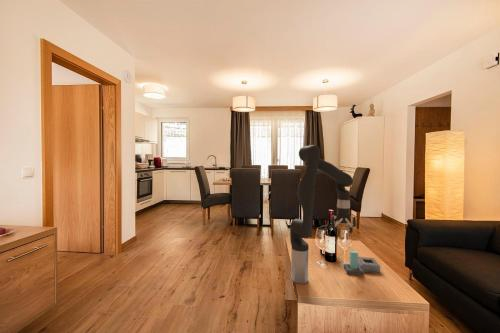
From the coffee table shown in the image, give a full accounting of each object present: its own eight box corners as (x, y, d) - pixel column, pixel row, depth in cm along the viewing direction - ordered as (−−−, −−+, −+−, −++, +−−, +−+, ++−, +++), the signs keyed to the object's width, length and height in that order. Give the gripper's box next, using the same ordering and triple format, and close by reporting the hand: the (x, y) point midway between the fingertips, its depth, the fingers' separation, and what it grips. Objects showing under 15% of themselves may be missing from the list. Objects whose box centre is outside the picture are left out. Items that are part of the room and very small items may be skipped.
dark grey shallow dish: (363, 275, 138) (363, 271, 138) (347, 274, 140) (347, 270, 140) (359, 269, 147) (359, 265, 147) (344, 267, 149) (344, 263, 149)
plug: (357, 273, 142) (357, 253, 142) (350, 272, 142) (351, 252, 142) (355, 270, 145) (356, 251, 145) (349, 270, 146) (349, 250, 146)
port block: (379, 273, 142) (380, 265, 142) (361, 271, 144) (362, 263, 144) (373, 265, 154) (373, 257, 154) (356, 263, 156) (357, 255, 156)
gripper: (332, 207, 147) (332, 233, 147) (357, 208, 144) (356, 235, 145) (330, 205, 154) (330, 230, 154) (353, 206, 152) (353, 231, 152)
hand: (343, 232), depth 149 cm, fingers open, 8 cm apart
